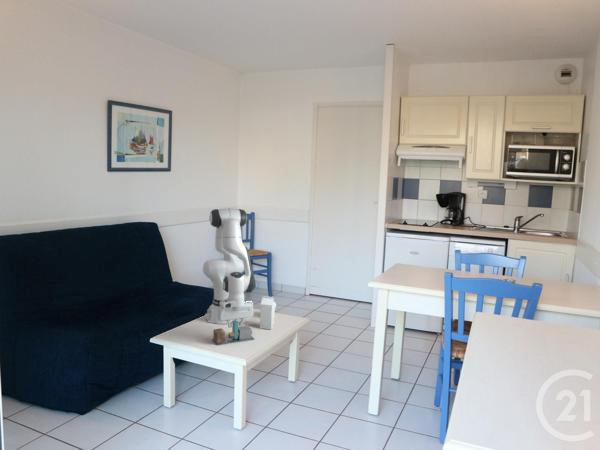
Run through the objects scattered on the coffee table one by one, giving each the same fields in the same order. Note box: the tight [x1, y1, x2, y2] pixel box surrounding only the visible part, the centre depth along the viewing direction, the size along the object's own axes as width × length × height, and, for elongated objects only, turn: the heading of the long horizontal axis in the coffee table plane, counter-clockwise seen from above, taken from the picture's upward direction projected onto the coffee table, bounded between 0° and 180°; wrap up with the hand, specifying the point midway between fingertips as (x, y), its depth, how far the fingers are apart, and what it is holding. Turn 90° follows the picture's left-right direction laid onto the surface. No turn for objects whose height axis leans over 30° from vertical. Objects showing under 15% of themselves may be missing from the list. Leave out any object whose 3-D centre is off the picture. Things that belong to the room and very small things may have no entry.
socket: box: [212, 328, 226, 343], centre depth 261 cm, size 4×6×6 cm
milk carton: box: [259, 295, 276, 330], centre depth 288 cm, size 7×7×19 cm
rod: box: [227, 319, 253, 339], centre depth 267 cm, size 13×4×10 cm, turn 120°
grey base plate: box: [211, 325, 255, 346], centre depth 265 cm, size 22×8×6 cm, turn 120°
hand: (235, 326), depth 265 cm, fingers open, 5 cm apart
